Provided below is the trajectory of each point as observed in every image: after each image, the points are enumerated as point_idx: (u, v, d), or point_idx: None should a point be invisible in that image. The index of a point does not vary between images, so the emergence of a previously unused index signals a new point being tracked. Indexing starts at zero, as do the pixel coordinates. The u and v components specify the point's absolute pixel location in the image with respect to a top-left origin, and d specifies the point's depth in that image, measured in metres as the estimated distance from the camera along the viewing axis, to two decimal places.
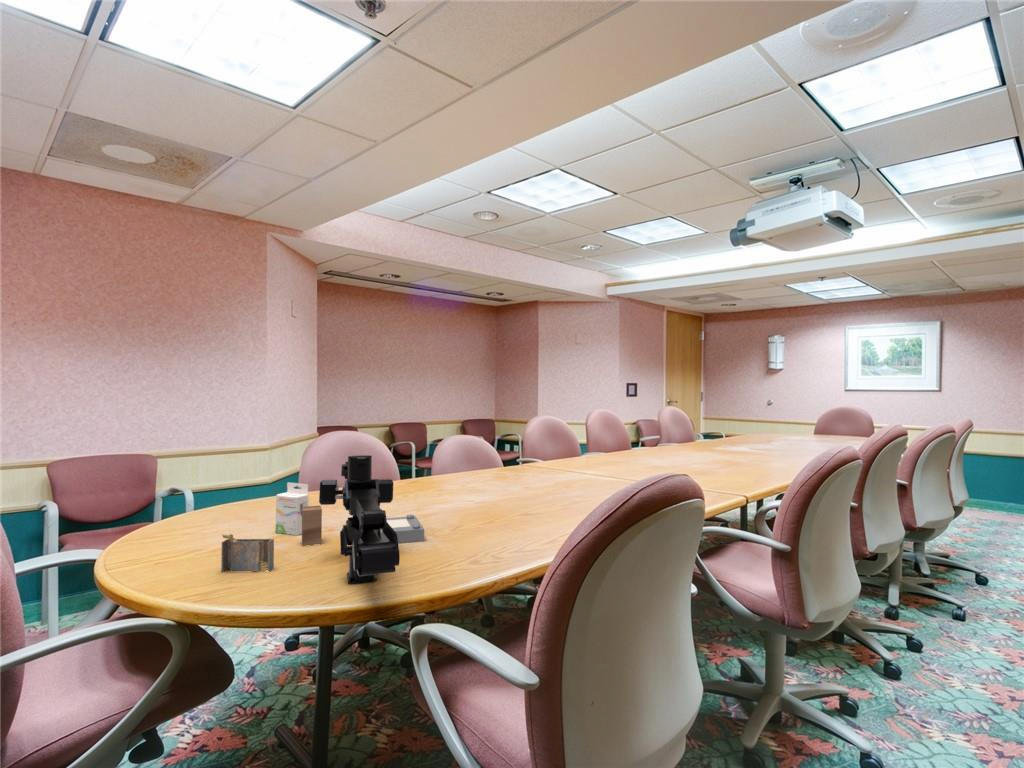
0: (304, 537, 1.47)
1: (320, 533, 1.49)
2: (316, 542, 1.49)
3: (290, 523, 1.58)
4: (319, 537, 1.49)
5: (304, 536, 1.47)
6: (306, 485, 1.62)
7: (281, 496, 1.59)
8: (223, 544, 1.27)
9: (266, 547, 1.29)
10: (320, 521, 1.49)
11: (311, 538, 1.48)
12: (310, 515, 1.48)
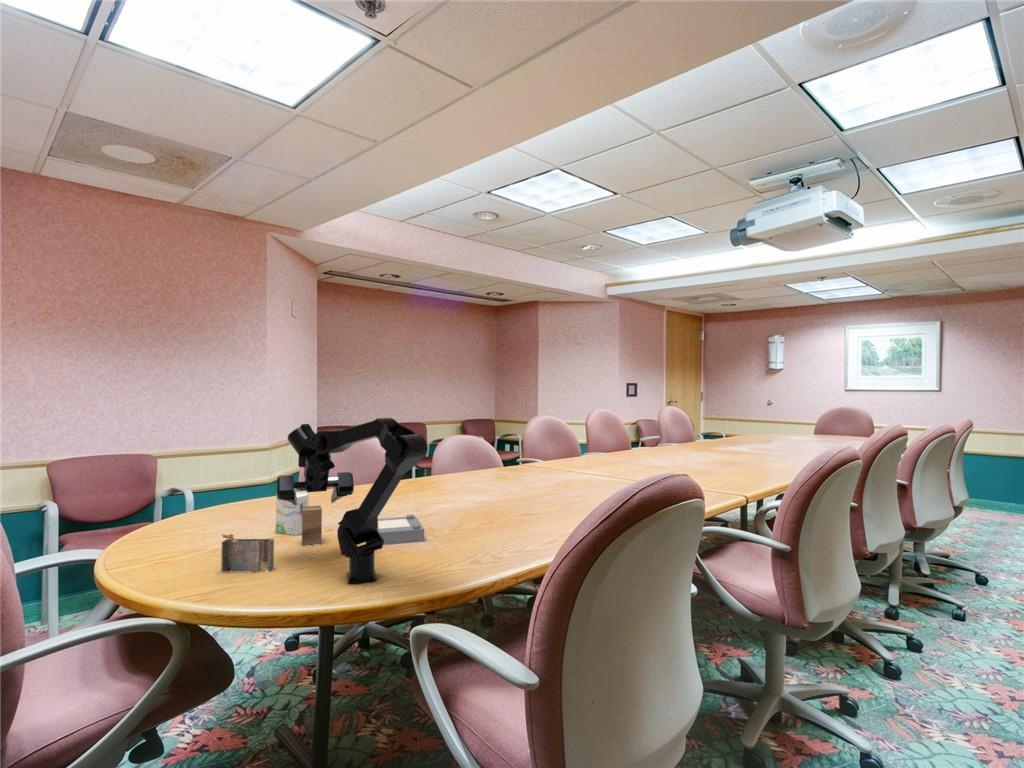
0: (304, 537, 1.47)
1: (320, 533, 1.49)
2: (316, 542, 1.49)
3: (290, 523, 1.58)
4: (319, 537, 1.49)
5: (304, 536, 1.47)
6: None
7: None
8: (223, 544, 1.27)
9: (266, 547, 1.29)
10: (320, 521, 1.49)
11: (311, 538, 1.48)
12: (310, 515, 1.48)
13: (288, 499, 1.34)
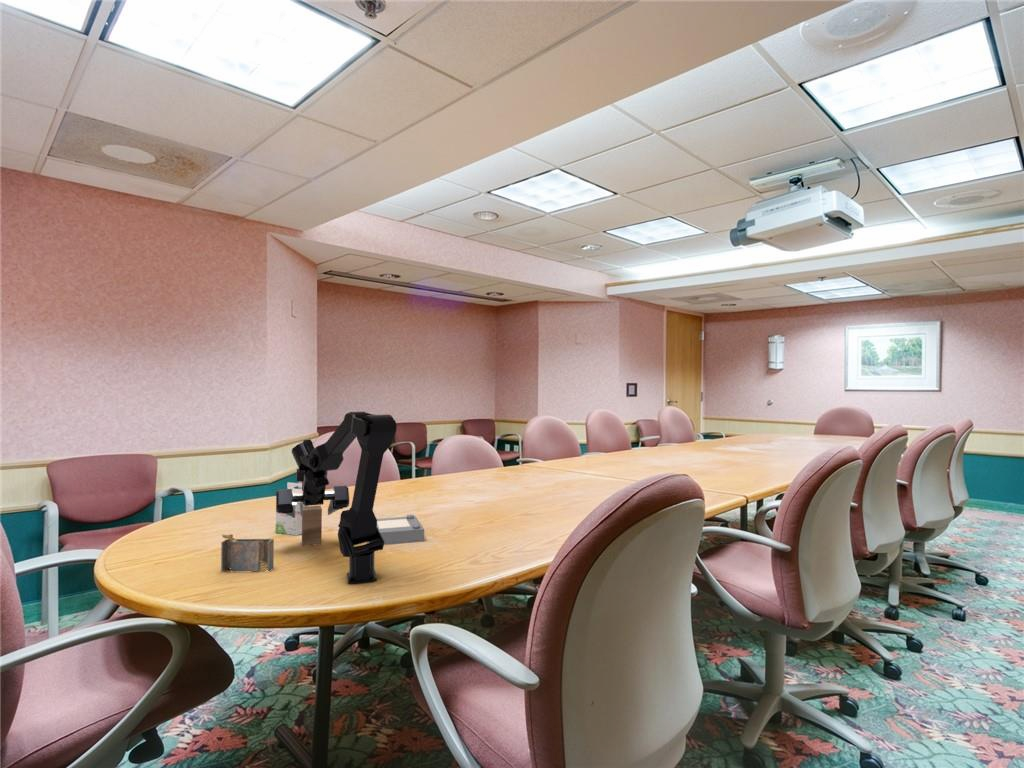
0: (304, 537, 1.47)
1: (320, 533, 1.49)
2: (316, 542, 1.49)
3: (290, 523, 1.58)
4: (319, 537, 1.49)
5: (304, 536, 1.47)
6: None
7: None
8: (223, 544, 1.27)
9: (266, 547, 1.29)
10: (320, 521, 1.49)
11: (311, 538, 1.48)
12: (310, 515, 1.48)
13: (287, 512, 1.41)
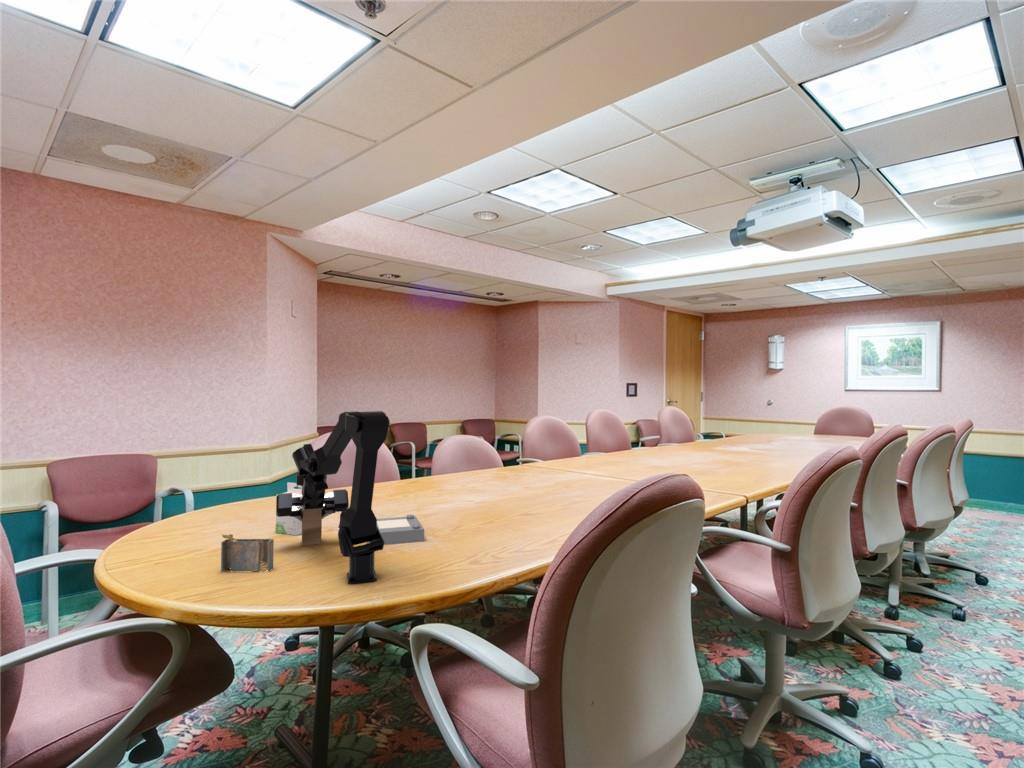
0: (304, 537, 1.47)
1: (320, 533, 1.49)
2: (316, 542, 1.49)
3: (290, 523, 1.58)
4: (319, 537, 1.49)
5: (304, 536, 1.47)
6: None
7: None
8: (223, 544, 1.27)
9: (266, 547, 1.29)
10: (320, 521, 1.49)
11: (311, 538, 1.48)
12: (310, 515, 1.48)
13: (294, 515, 1.43)
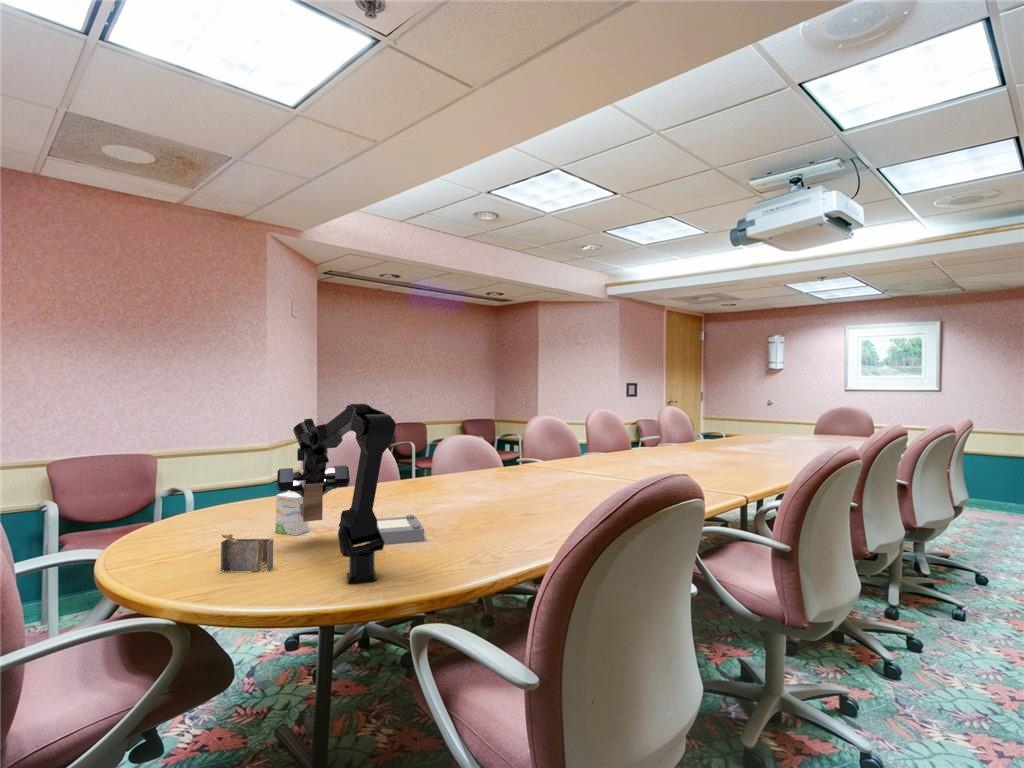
0: (305, 512, 1.47)
1: (321, 509, 1.49)
2: (317, 518, 1.49)
3: (290, 523, 1.58)
4: (320, 513, 1.49)
5: (305, 511, 1.47)
6: None
7: (281, 496, 1.59)
8: (222, 544, 1.27)
9: (265, 547, 1.29)
10: (321, 497, 1.49)
11: (312, 513, 1.48)
12: (311, 490, 1.48)
13: (295, 490, 1.44)
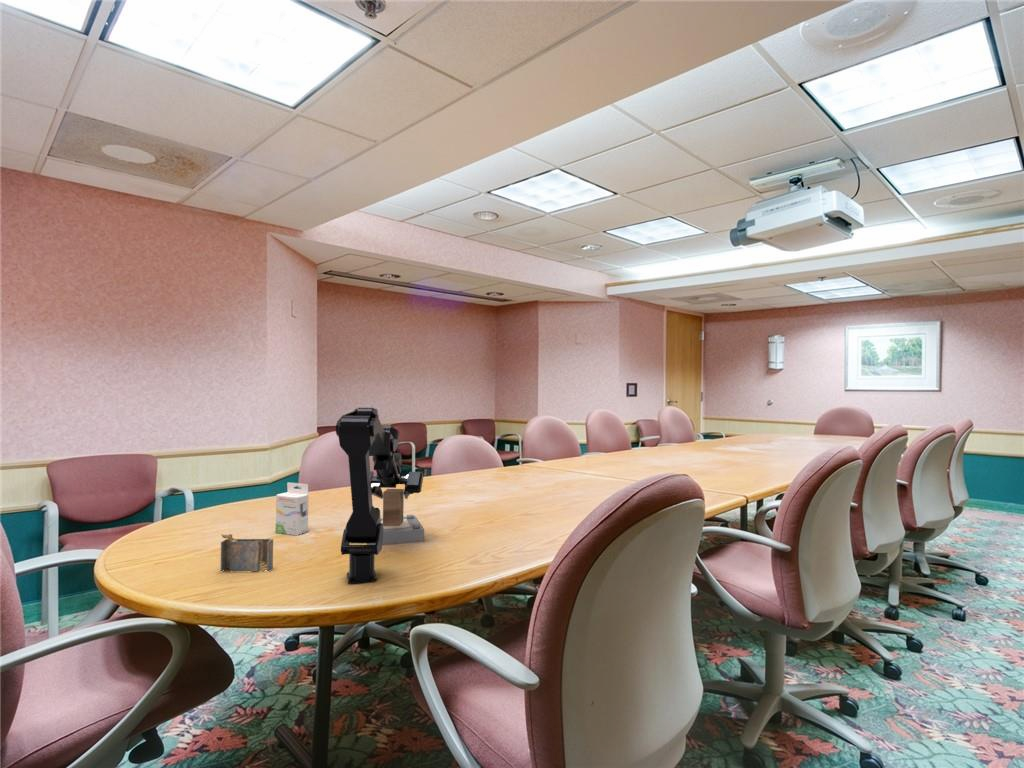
0: (384, 517, 1.56)
1: (398, 515, 1.55)
2: (395, 523, 1.56)
3: (290, 523, 1.58)
4: (397, 519, 1.55)
5: (384, 516, 1.56)
6: (306, 485, 1.62)
7: (281, 496, 1.59)
8: (222, 544, 1.27)
9: (265, 547, 1.29)
10: (398, 504, 1.56)
11: (391, 519, 1.56)
12: (390, 497, 1.56)
13: None
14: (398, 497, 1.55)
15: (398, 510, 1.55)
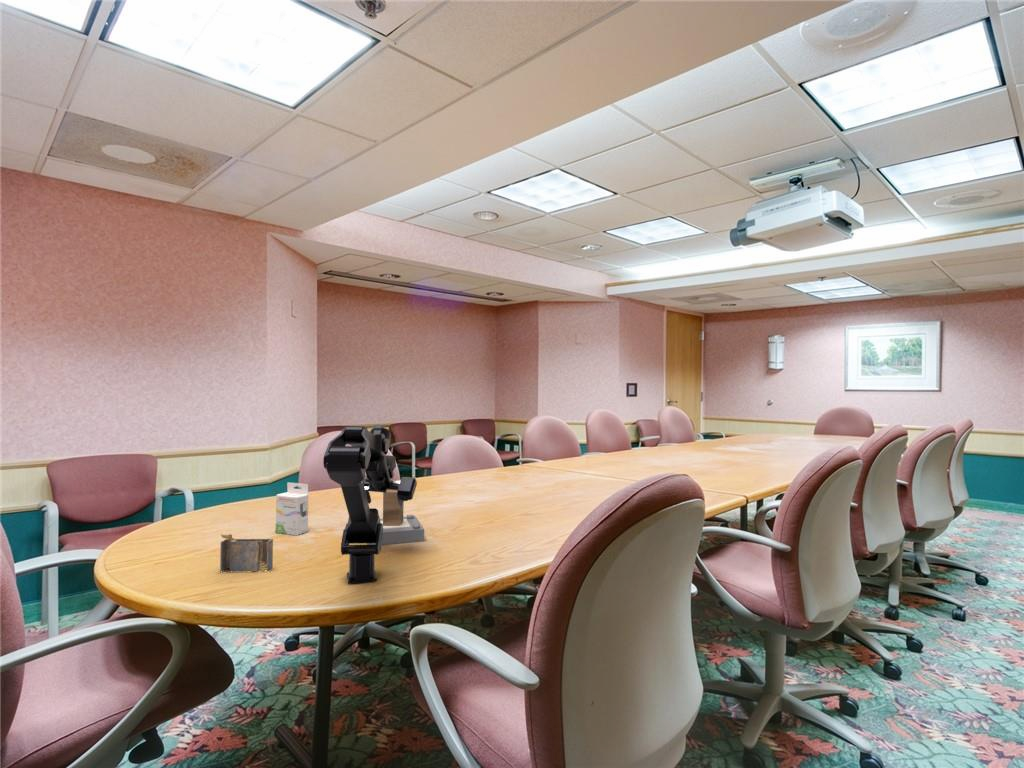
0: (384, 517, 1.56)
1: (398, 515, 1.55)
2: (395, 523, 1.56)
3: (290, 523, 1.58)
4: (397, 519, 1.55)
5: (384, 516, 1.56)
6: (306, 485, 1.62)
7: (281, 496, 1.59)
8: (222, 544, 1.27)
9: (265, 547, 1.29)
10: (398, 504, 1.56)
11: (391, 519, 1.56)
12: (390, 497, 1.56)
13: None
14: None
15: (398, 510, 1.55)
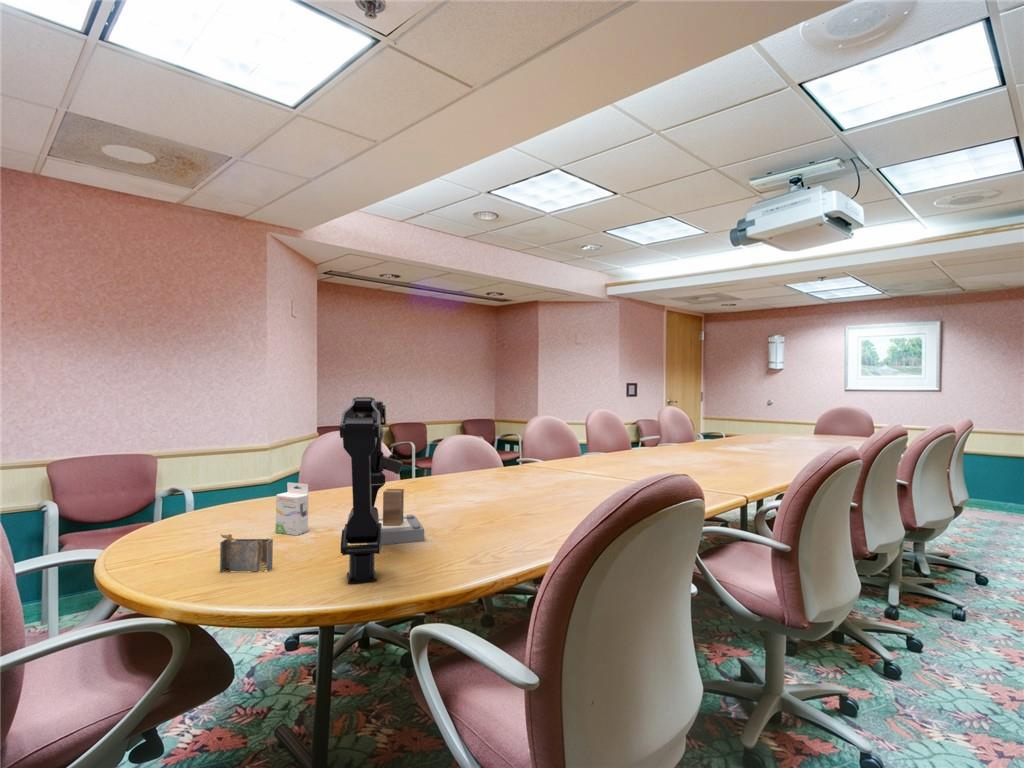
0: (384, 517, 1.56)
1: (398, 515, 1.55)
2: (395, 523, 1.56)
3: (290, 523, 1.58)
4: (397, 519, 1.55)
5: (384, 516, 1.56)
6: (306, 485, 1.62)
7: (281, 496, 1.59)
8: (222, 544, 1.27)
9: (265, 547, 1.29)
10: (398, 504, 1.56)
11: (391, 519, 1.56)
12: (390, 497, 1.56)
13: None
14: (398, 497, 1.55)
15: (398, 510, 1.55)
